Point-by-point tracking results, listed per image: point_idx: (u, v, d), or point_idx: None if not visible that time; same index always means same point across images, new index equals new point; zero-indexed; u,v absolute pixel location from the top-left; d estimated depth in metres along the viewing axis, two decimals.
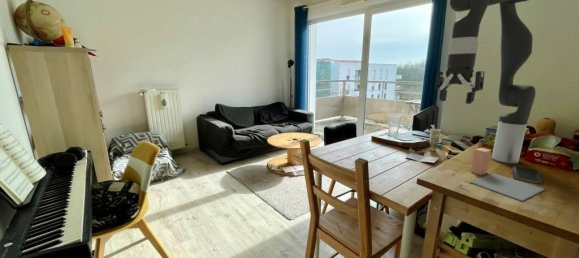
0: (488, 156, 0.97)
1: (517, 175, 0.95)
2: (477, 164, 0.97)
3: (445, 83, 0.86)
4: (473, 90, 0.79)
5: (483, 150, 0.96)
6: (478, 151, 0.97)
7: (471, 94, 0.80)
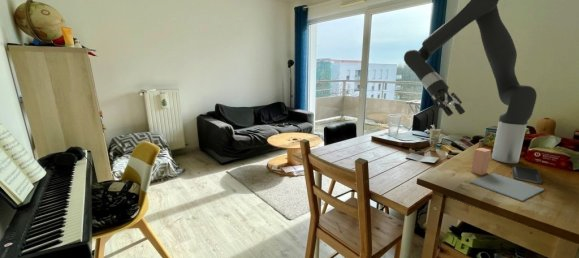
0: (488, 156, 0.97)
1: (517, 175, 0.95)
2: (477, 164, 0.97)
3: None
4: (441, 107, 1.04)
5: (483, 150, 0.96)
6: (478, 151, 0.97)
7: None
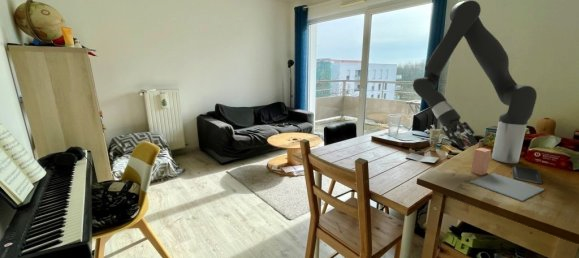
0: (488, 156, 0.97)
1: (517, 175, 0.95)
2: (477, 164, 0.97)
3: None
4: None
5: (483, 150, 0.96)
6: (478, 151, 0.97)
7: None
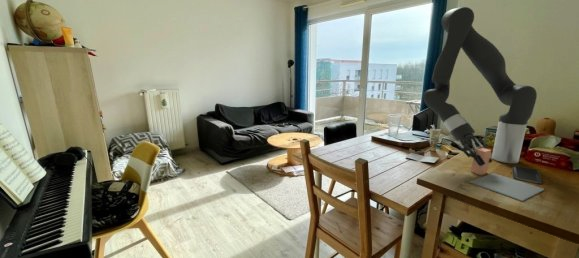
0: (488, 156, 0.97)
1: (517, 175, 0.95)
2: (477, 164, 0.97)
3: None
4: None
5: (483, 150, 0.96)
6: (478, 151, 0.97)
7: None
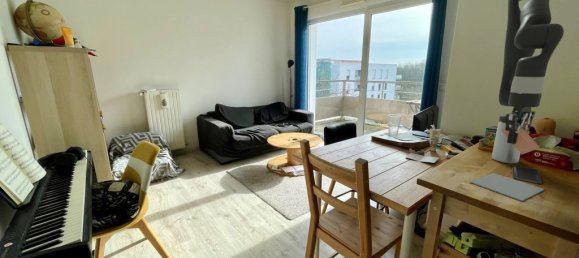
0: None
1: (517, 175, 0.95)
2: None
3: (522, 124, 0.80)
4: None
5: None
6: None
7: None
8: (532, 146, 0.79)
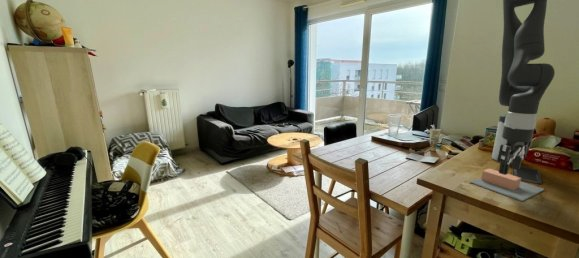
0: None
1: (517, 175, 0.95)
2: None
3: (514, 157, 0.82)
4: None
5: None
6: None
7: (520, 161, 0.87)
8: (513, 178, 0.84)
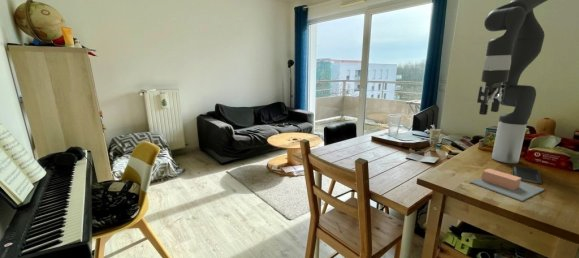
0: None
1: (517, 175, 0.95)
2: None
3: (492, 97, 0.89)
4: None
5: None
6: None
7: None
8: (513, 178, 0.84)
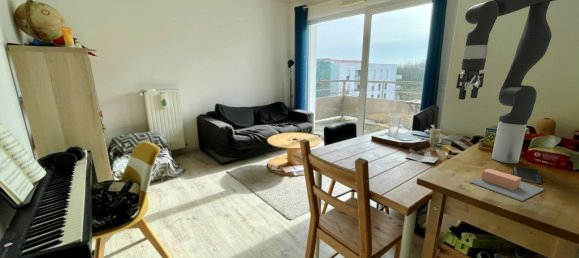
0: None
1: (517, 175, 0.95)
2: None
3: (470, 83, 0.98)
4: None
5: None
6: None
7: (477, 90, 1.04)
8: (513, 178, 0.84)
